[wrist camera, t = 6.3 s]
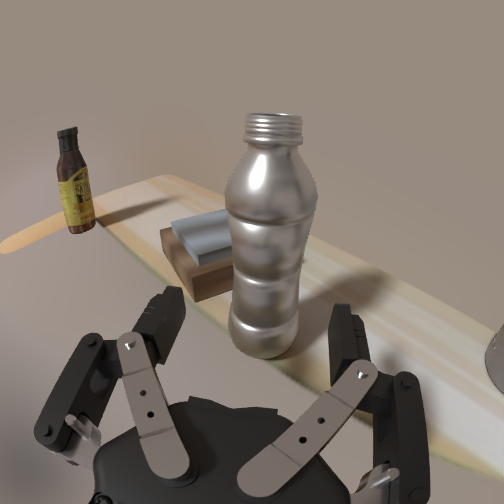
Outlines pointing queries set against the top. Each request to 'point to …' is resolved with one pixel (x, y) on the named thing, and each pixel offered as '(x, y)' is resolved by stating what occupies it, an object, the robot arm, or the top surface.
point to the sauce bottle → (74, 184)
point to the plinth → (194, 274)
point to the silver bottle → (268, 233)
